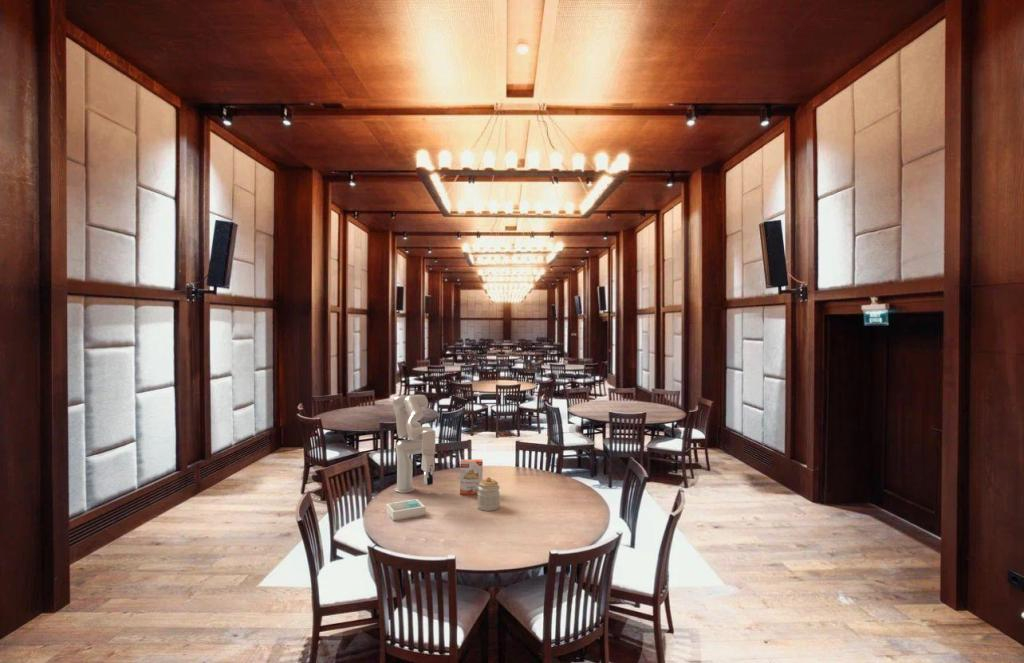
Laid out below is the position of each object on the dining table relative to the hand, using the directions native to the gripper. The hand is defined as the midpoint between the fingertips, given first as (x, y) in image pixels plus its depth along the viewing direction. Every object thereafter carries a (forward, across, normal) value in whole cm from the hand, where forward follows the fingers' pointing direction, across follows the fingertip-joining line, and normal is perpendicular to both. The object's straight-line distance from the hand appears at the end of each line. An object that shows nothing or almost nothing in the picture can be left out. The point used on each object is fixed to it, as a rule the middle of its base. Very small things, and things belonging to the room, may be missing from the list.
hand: (428, 482), depth 305 cm
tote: (+15, +2, -14) cm, 21 cm away
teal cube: (+14, +2, -10) cm, 17 cm away
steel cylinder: (+1, 0, 0) cm, 1 cm away
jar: (+15, +13, +32) cm, 38 cm away
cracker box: (+16, -14, +33) cm, 39 cm away
